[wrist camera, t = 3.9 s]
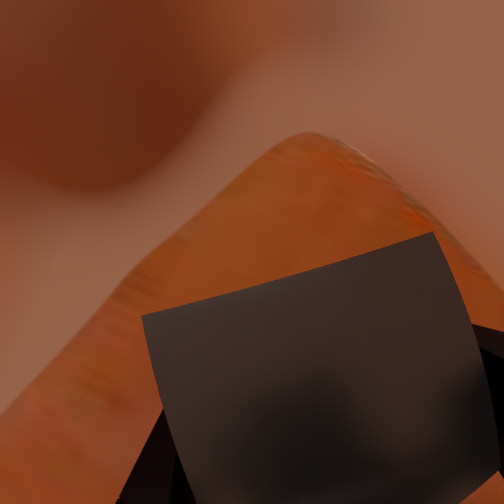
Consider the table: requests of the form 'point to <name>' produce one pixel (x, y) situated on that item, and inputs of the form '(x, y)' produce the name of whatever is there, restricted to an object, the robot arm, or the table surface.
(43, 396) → the table surface
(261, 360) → the tea tin
